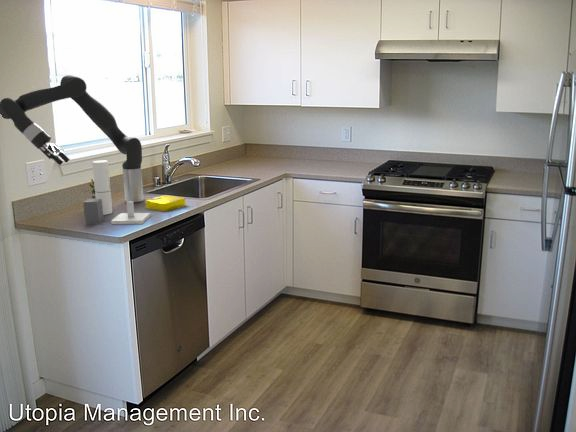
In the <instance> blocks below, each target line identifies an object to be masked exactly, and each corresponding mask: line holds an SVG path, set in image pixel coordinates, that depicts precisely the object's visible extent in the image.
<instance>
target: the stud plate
mask: <svg viewBox="0 0 576 432" xmlns="http://www.w3.org/2000/svg"><path fill="white" fill-rule="evenodd" d="M126 209H127V210H126V212H121V213H119V214H118V215H116V216H115V217H114V218H113V219H112V220H111V221H110V223H111V225H143V224H144V223H145V222H147V220H148V219H149V218H150V217H151V212H135V206H134V202H133V201H128V202H126Z"/></svg>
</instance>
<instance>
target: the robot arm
mask: <svg viewBox="0 0 576 432" xmlns="http://www.w3.org/2000/svg"><path fill="white" fill-rule="evenodd" d="M87 88H88V87H87V82H86V81H85V80H84V79H83V78H81V77H79V76H76V75H70V74H69V75H64V76H63V77H62V78H61V79H60V85H57V86H54V87H47V88H44V89H43V88H42V89H37V90H32V91H30V92H27V93H24V94H22V95H20V96H19V97H18V98H17V99H15V100H14V99H12V98H10V97H5V98H3V99H1V100H0V114H1V115H2V117H3V118H2V117H1V118H2V119H5V120H10V119H11V121H12V122H13V124H14V127H15V128H16V129H17V130H18V131H19V132H20V133H21V134H22V135H23V136H24V137H25V138H26V139H27V140H28V141H29V142H30V143H31V144H32V146H34V147H35V148H36V149H38V150H40V152H42V153H43V154H44V155H45V156H46V157H47V158H48V159H49V160H52V161H54V162H55V163H56V164H58V166H60V165H62V164H63V163H68V162H69V161H70V159H71V158H70V157H68V156H67V155H66V154H65V150H64V149H63V148H61V146H59V144H57V143H56V142H53V143H52V142H51V140H52V137H51V136H50V135H49V134H48V133H47V132H46V131H45V130H44V129H43V128H42V127H41V126H40V125H38V124H37V123H36V122H35V121H33V119H31V118H30V117H29V116H28V115H27V114H26V112H28V111H31V110H33V109H36V108H39V107H42V106H45V105H48V104H50V103H51V104H52V103H54V102H58V101H60V100H67V99H71V100H72V101H74V103H76V104H77V106H79V107H80V108H81V110H82V111H83V112H84V113H85V114H86V116H87V117H88V118H89V119H90V120H91V121H92V122H93V123H94V124H95V125H96V127H98V129H100V130H101V131H102V132H103V134H105V135H106V136H107V137H108V138H109V140H110V141H111V142H112V144H113V145H114V146H115V148H116V149H117V150H118V151H119V152H120V153H121V154H122V155H126V160H125V161H124V162H122V164H121V165H122V174H123V175H122V176H123V186H124V187H123V188H124V200H125V202H126V203H127V202H128V201H133V203H138V202H143V201H144V190H143V188H144V187H143V175H142V162H143V153H142V152H143V147H142V143H141V140H140V139H139V138H137V137H133V136H128V135H126V134H125V133H124V132H123V131H122V130H121V129H120V128H119V126H118V124H117V121H116V119H115V116H114V115H113V113H111V111H109V110H108V108H107V107H106V106H105V105H104V104H103V103H101V102H100V101H98V100H97V99H96V98H94V97H93V96H91V94H90V93H89V92H87Z"/></svg>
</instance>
